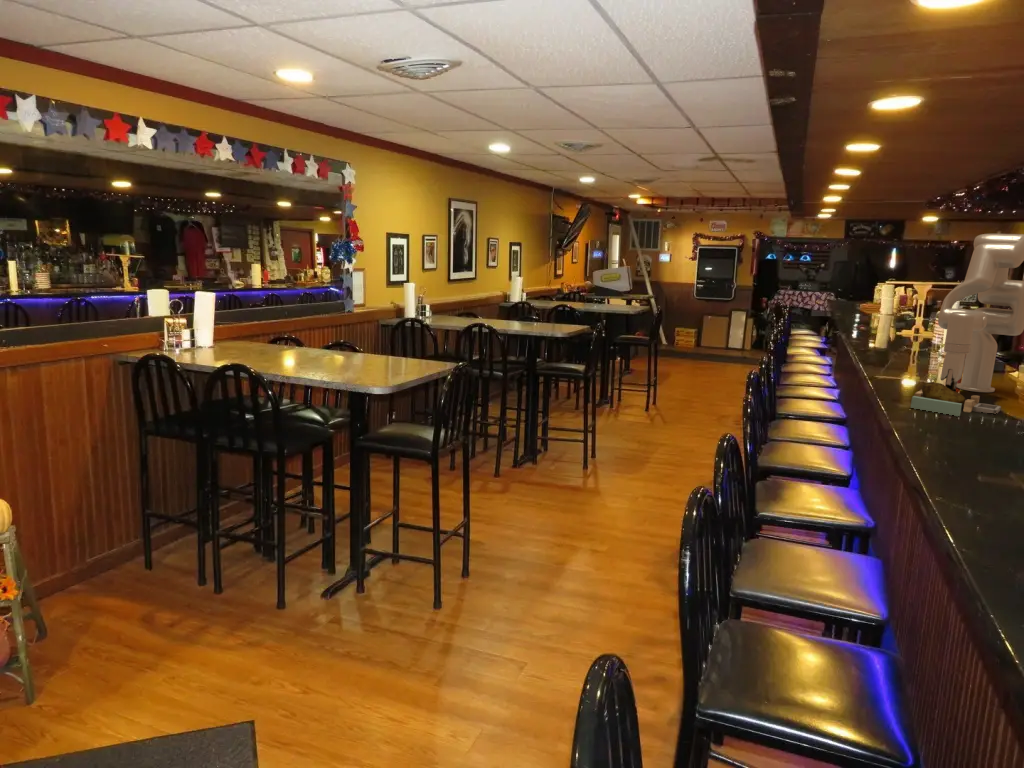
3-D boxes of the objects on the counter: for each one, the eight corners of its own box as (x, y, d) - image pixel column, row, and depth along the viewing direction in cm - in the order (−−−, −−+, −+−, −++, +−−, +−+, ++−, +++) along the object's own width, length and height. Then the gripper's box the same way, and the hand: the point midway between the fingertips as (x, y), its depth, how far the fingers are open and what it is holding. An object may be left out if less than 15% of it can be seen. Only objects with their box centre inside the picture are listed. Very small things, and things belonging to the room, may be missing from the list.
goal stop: (911, 407, 234) (913, 396, 233) (959, 415, 225) (961, 403, 224) (910, 408, 233) (912, 396, 232) (958, 416, 224) (960, 404, 223)
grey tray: (978, 407, 238) (978, 402, 238) (1000, 410, 234) (1001, 406, 234) (972, 411, 232) (973, 406, 231) (995, 414, 228) (996, 410, 227)
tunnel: (922, 397, 251) (924, 387, 250) (978, 406, 240) (979, 396, 239) (913, 403, 241) (914, 393, 240) (970, 412, 230) (971, 402, 229)
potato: (960, 411, 231) (965, 388, 229) (917, 404, 239) (921, 382, 238) (965, 407, 237) (969, 384, 235) (922, 401, 245) (926, 378, 244)
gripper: (949, 344, 245) (941, 394, 250) (939, 349, 235) (931, 401, 239) (974, 346, 241) (965, 397, 245) (965, 352, 230) (956, 405, 234)
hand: (948, 399), depth 242 cm, fingers closed
